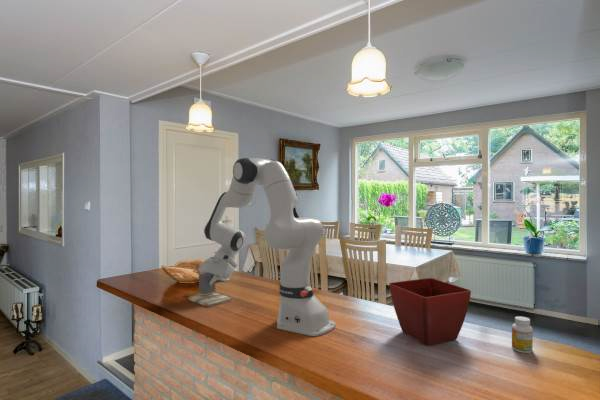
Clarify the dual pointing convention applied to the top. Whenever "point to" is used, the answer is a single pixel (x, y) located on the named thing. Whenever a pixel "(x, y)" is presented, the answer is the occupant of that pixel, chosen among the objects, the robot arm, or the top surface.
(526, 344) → the supplement bottle
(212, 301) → the board
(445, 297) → the plant pot
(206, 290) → the block
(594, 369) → the top surface
